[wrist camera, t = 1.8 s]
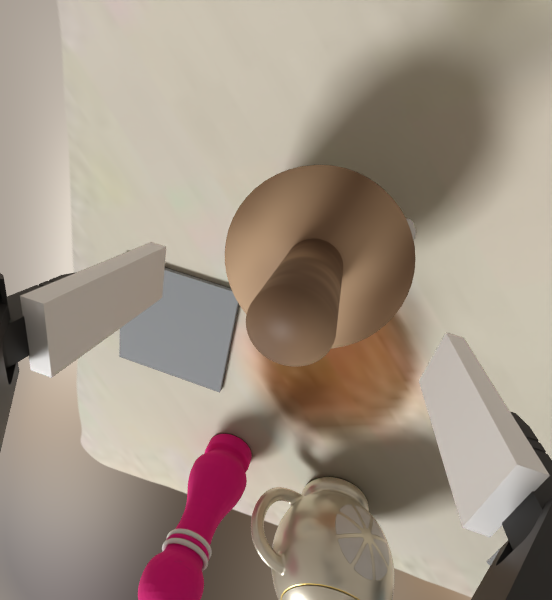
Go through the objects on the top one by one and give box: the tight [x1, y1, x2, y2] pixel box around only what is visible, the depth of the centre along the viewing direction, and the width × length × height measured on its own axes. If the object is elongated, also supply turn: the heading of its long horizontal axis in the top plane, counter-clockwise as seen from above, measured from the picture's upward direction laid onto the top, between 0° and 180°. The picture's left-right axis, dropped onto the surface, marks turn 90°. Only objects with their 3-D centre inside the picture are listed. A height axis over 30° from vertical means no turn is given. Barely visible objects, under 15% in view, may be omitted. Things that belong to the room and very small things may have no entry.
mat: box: [119, 268, 239, 392], centre depth 38 cm, size 14×14×1 cm
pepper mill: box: [138, 434, 252, 600], centre depth 35 cm, size 7×7×20 cm
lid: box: [225, 165, 415, 367], centre depth 18 cm, size 13×13×10 cm
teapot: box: [251, 477, 394, 600], centre depth 36 cm, size 18×14×16 cm
